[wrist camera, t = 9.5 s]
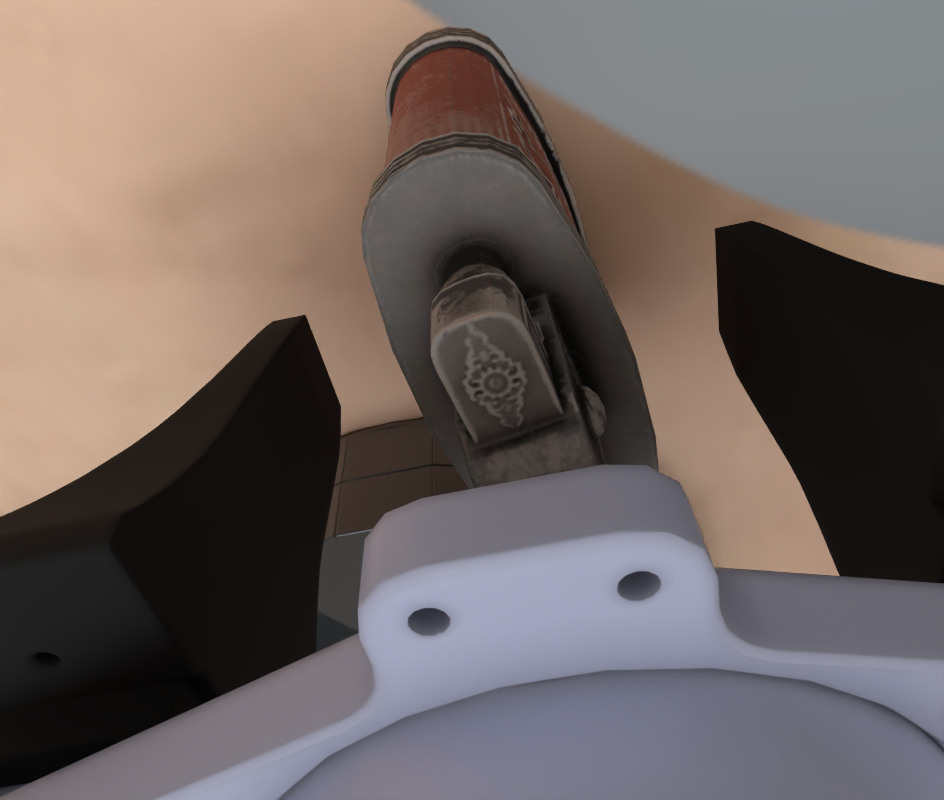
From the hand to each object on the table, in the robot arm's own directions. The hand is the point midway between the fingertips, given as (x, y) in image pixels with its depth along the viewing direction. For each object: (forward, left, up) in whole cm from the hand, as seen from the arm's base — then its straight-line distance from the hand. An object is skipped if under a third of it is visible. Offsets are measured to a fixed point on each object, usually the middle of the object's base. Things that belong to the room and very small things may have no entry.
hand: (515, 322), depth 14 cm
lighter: (0, 0, -6) cm, 6 cm away
